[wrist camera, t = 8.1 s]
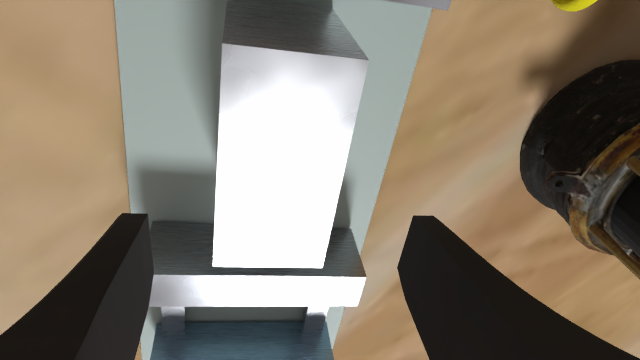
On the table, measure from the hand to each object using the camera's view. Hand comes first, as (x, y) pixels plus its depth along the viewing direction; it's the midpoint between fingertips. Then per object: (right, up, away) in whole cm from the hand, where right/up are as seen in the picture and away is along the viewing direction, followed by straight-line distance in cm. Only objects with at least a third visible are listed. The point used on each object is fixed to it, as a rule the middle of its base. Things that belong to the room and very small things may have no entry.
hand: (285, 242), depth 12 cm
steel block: (-1, +5, +7) cm, 9 cm away
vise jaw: (-3, -4, +13) cm, 14 cm away
